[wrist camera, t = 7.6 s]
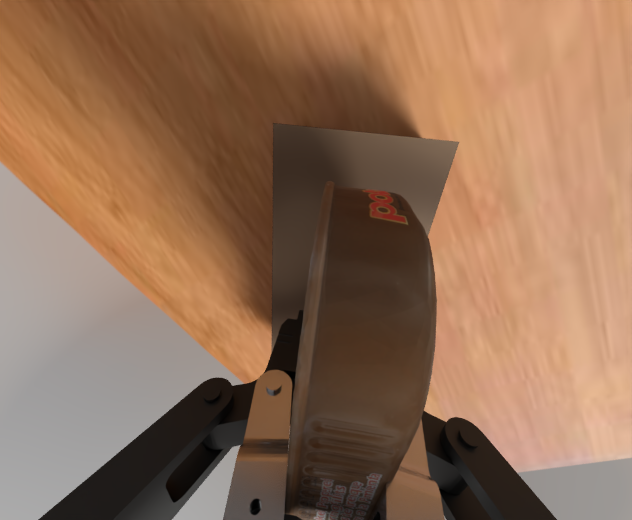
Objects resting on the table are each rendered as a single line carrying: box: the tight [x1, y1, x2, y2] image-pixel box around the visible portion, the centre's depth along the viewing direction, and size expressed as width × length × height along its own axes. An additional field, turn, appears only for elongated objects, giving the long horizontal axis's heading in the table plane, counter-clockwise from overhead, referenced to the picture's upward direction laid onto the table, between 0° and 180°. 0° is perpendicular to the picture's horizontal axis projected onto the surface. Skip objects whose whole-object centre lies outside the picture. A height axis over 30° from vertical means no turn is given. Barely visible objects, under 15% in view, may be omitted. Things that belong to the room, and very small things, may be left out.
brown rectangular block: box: [272, 123, 459, 351], centre depth 17 cm, size 18×8×5 cm, turn 175°
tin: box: [284, 181, 437, 520], centre depth 10 cm, size 15×3×8 cm, turn 175°
